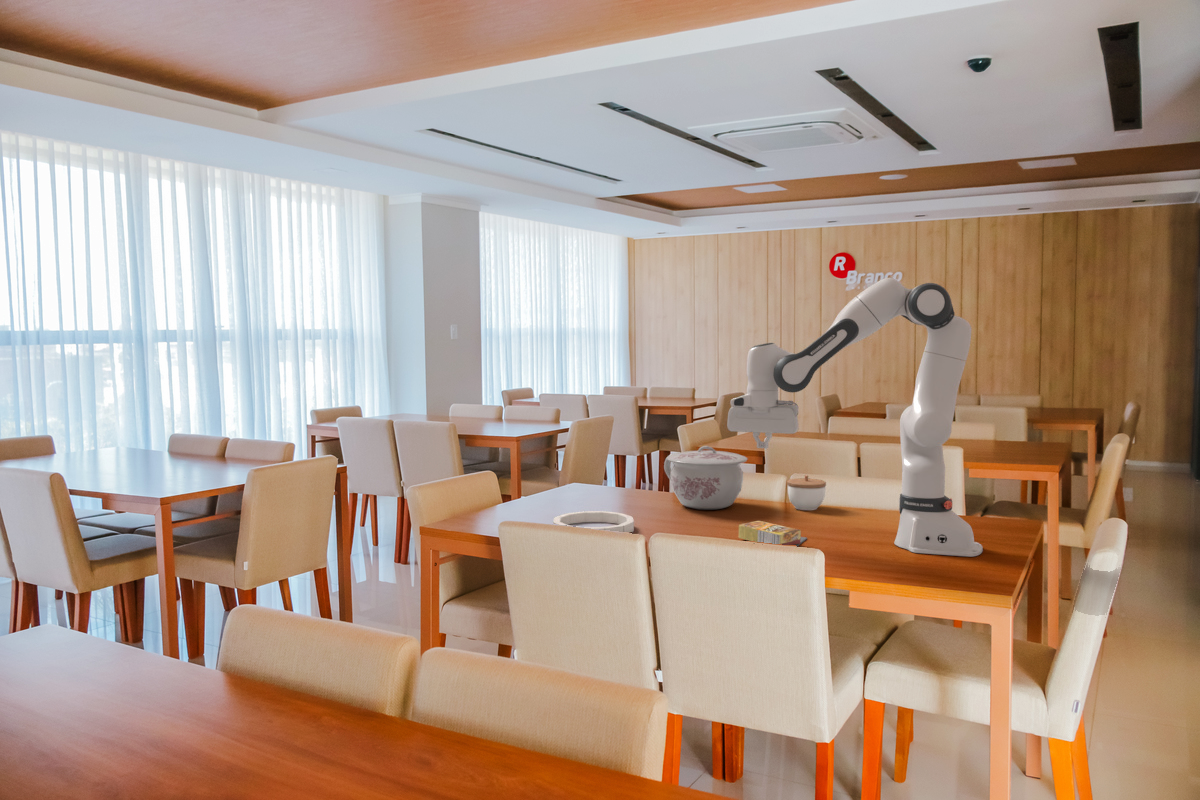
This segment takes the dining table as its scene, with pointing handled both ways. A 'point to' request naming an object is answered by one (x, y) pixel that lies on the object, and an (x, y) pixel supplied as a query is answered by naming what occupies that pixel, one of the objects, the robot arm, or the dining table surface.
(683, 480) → the chamber pot
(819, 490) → the lidded bowl
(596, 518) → the flower saucer rim
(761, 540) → the candy box
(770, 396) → the robot arm
